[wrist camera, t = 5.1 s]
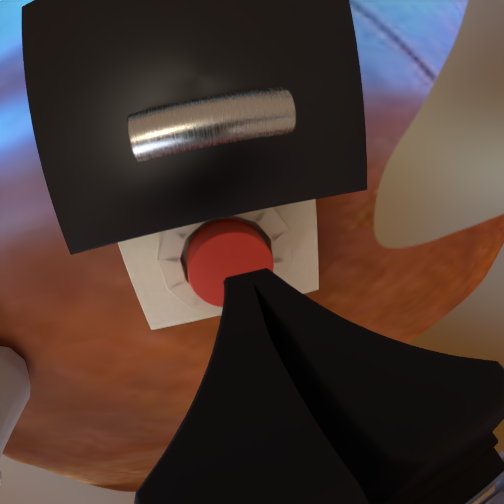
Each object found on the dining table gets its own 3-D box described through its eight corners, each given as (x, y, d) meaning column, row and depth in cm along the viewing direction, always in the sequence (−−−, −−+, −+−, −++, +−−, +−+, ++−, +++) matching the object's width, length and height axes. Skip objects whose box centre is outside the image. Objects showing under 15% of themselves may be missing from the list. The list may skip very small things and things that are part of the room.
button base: (313, 282, 22) (329, 304, 20) (151, 321, 20) (150, 348, 18) (307, 165, 18) (327, 175, 16) (110, 206, 16) (100, 223, 14)
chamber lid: (361, 186, 15) (411, 213, 11) (74, 249, 13) (46, 297, 9) (333, -39, 9) (378, -68, 5) (26, 9, 7) (-16, -13, 3)
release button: (269, 280, 18) (277, 296, 17) (196, 297, 18) (199, 316, 16) (260, 211, 16) (269, 222, 15) (177, 229, 15) (178, 243, 14)
